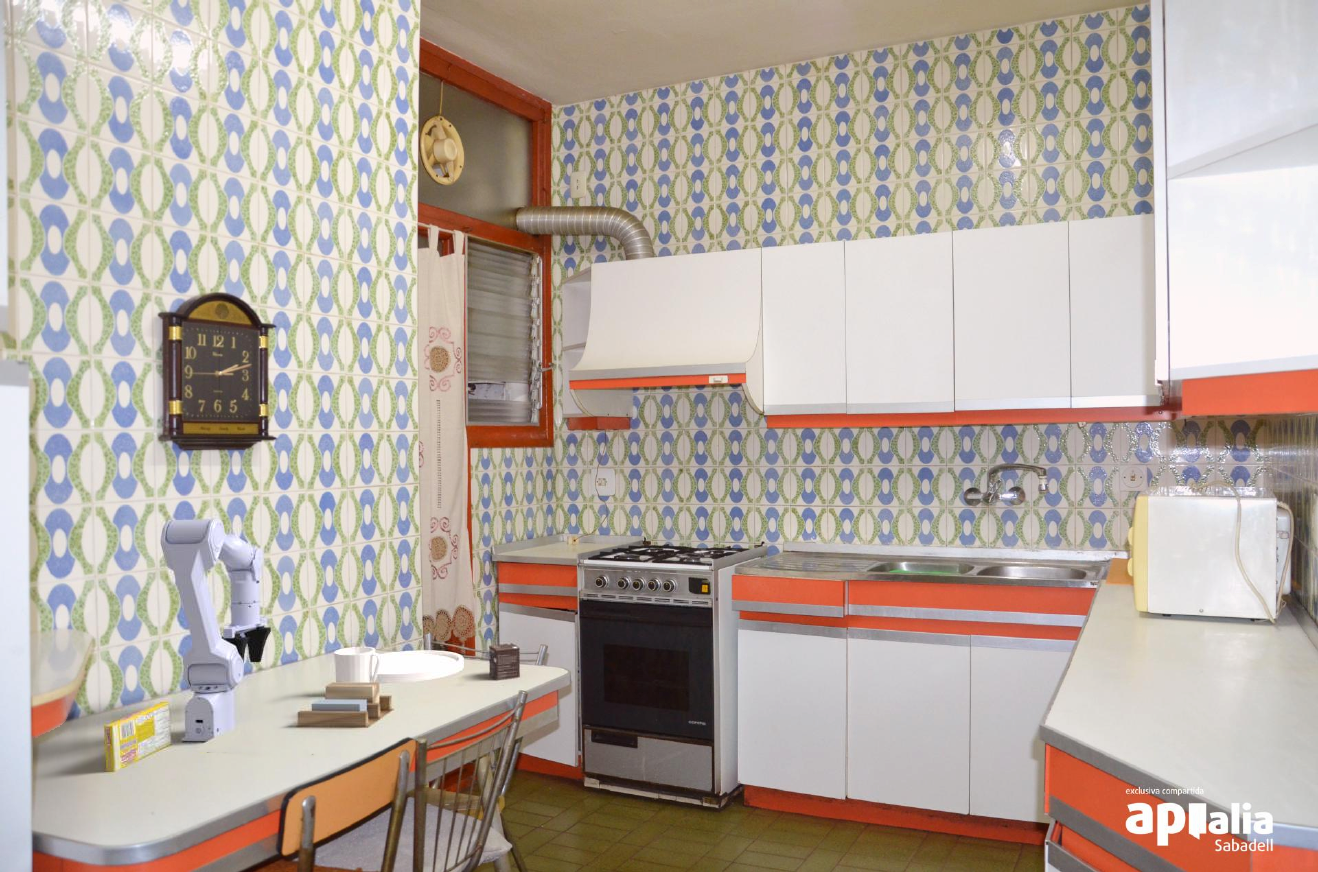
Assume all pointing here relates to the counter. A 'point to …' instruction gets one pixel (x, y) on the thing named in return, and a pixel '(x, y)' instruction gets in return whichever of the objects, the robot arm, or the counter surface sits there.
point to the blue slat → (339, 705)
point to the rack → (347, 716)
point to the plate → (417, 665)
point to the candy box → (137, 736)
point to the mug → (356, 664)
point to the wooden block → (353, 691)
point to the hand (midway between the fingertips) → (246, 665)
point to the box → (504, 661)
